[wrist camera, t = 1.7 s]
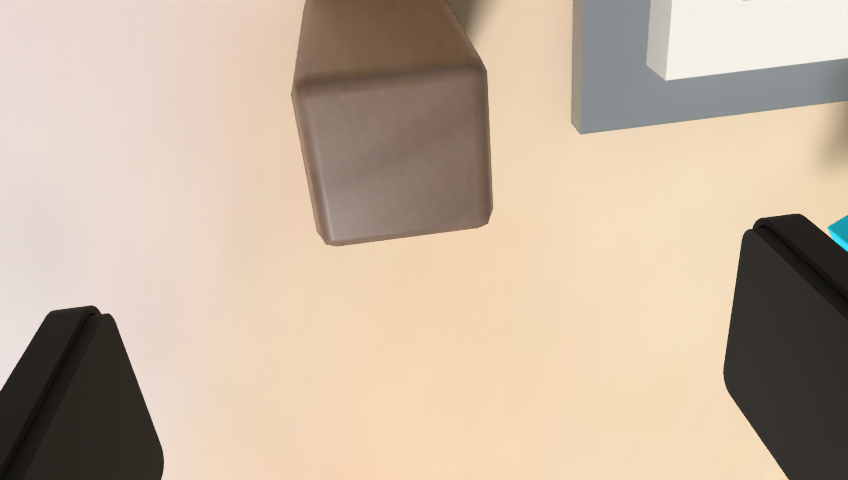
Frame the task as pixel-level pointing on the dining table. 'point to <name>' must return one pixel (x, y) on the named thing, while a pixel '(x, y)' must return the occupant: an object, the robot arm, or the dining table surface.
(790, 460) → the robot arm
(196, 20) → the dining table surface
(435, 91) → the wooden block
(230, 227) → the dining table surface
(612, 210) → the dining table surface
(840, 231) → the gear mechanism
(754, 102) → the baseplate
